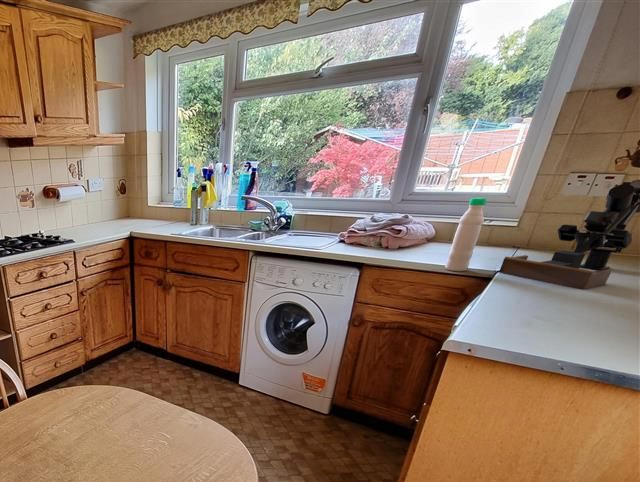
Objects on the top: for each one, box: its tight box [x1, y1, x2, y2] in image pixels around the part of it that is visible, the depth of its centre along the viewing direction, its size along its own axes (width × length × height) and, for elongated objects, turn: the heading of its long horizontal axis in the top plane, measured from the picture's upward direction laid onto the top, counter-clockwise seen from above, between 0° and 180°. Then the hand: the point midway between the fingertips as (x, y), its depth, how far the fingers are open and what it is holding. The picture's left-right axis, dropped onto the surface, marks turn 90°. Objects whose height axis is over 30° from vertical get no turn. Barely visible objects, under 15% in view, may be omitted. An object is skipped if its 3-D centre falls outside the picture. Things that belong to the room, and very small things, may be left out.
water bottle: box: [444, 197, 488, 272], centre depth 157 cm, size 7×7×25 cm
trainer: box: [541, 250, 586, 269], centre depth 148 cm, size 13×6×8 cm, turn 111°
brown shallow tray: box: [498, 254, 613, 290], centre depth 148 cm, size 12×25×6 cm, turn 21°
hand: (574, 254), depth 149 cm, fingers closed, pressing on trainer
